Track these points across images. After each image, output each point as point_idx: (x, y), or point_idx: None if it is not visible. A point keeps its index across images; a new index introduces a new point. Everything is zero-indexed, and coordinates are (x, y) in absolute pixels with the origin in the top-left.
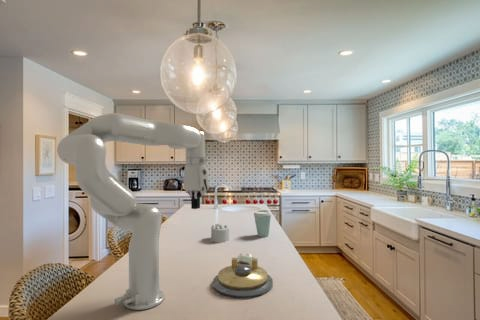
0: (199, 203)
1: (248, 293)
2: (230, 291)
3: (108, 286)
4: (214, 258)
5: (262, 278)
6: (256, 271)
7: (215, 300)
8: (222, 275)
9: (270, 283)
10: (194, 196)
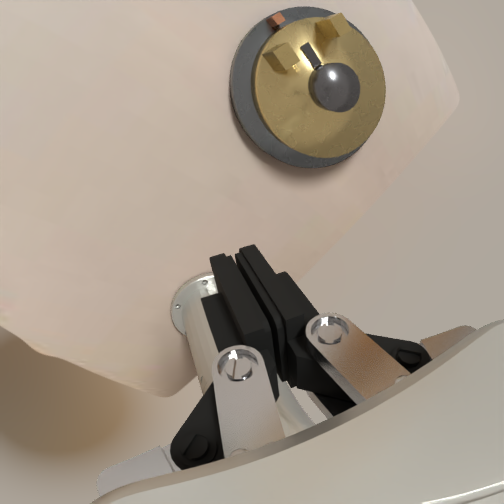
0: (296, 289)
1: (369, 136)
2: (337, 157)
3: (92, 344)
4: (68, 10)
5: (383, 86)
6: (349, 54)
7: (320, 192)
8: (299, 139)
9: None
10: (315, 400)
